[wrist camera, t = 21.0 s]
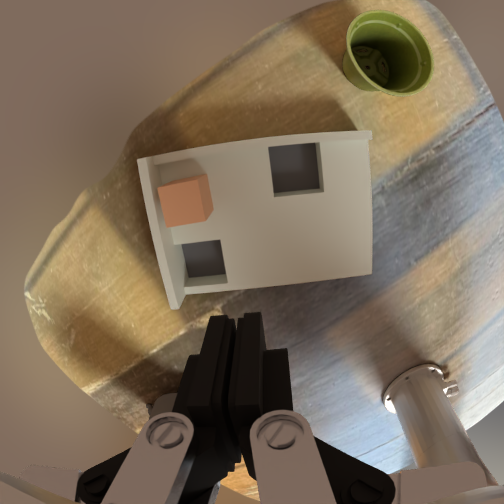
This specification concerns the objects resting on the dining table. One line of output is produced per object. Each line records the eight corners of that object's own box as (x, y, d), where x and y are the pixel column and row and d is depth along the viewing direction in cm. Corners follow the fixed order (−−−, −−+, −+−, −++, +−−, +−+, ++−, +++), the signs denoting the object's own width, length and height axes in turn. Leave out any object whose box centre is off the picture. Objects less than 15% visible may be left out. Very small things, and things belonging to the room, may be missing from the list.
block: (207, 173, 32) (197, 179, 27) (213, 209, 33) (205, 221, 28) (172, 180, 32) (157, 187, 27) (179, 215, 33) (166, 227, 29)
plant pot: (339, 109, 31) (363, 100, 23) (318, 37, 28) (334, 10, 20) (407, 101, 30) (444, 94, 22) (387, 33, 27) (417, 11, 19)
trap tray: (358, 131, 32) (378, 130, 26) (364, 264, 38) (381, 287, 32) (157, 155, 34) (136, 159, 28) (183, 284, 40) (170, 309, 34)
